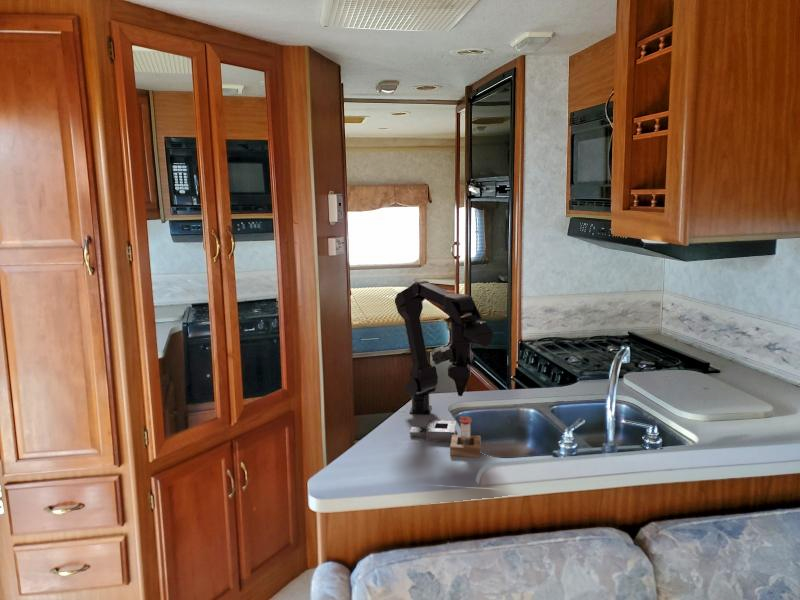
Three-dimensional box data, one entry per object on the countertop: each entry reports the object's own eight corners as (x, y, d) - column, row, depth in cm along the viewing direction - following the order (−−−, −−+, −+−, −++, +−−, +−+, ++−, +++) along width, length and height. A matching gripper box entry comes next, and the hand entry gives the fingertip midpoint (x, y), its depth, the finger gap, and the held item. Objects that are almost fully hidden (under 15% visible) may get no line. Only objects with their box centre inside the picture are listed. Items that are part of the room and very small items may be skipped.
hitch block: (413, 428, 183) (412, 419, 182) (456, 430, 180) (456, 421, 180) (409, 440, 175) (408, 430, 174) (454, 442, 173) (454, 432, 172)
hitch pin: (460, 446, 170) (460, 416, 168) (471, 447, 169) (471, 416, 167) (459, 452, 167) (459, 420, 165) (471, 452, 166) (471, 421, 164)
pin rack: (452, 442, 172) (452, 434, 172) (480, 444, 171) (480, 435, 171) (450, 455, 165) (450, 447, 164) (479, 457, 163) (479, 448, 163)
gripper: (436, 330, 185) (437, 379, 188) (429, 347, 167) (430, 401, 170) (473, 331, 183) (473, 380, 187) (470, 348, 165) (470, 402, 169)
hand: (461, 390), depth 178 cm, fingers open, 9 cm apart
